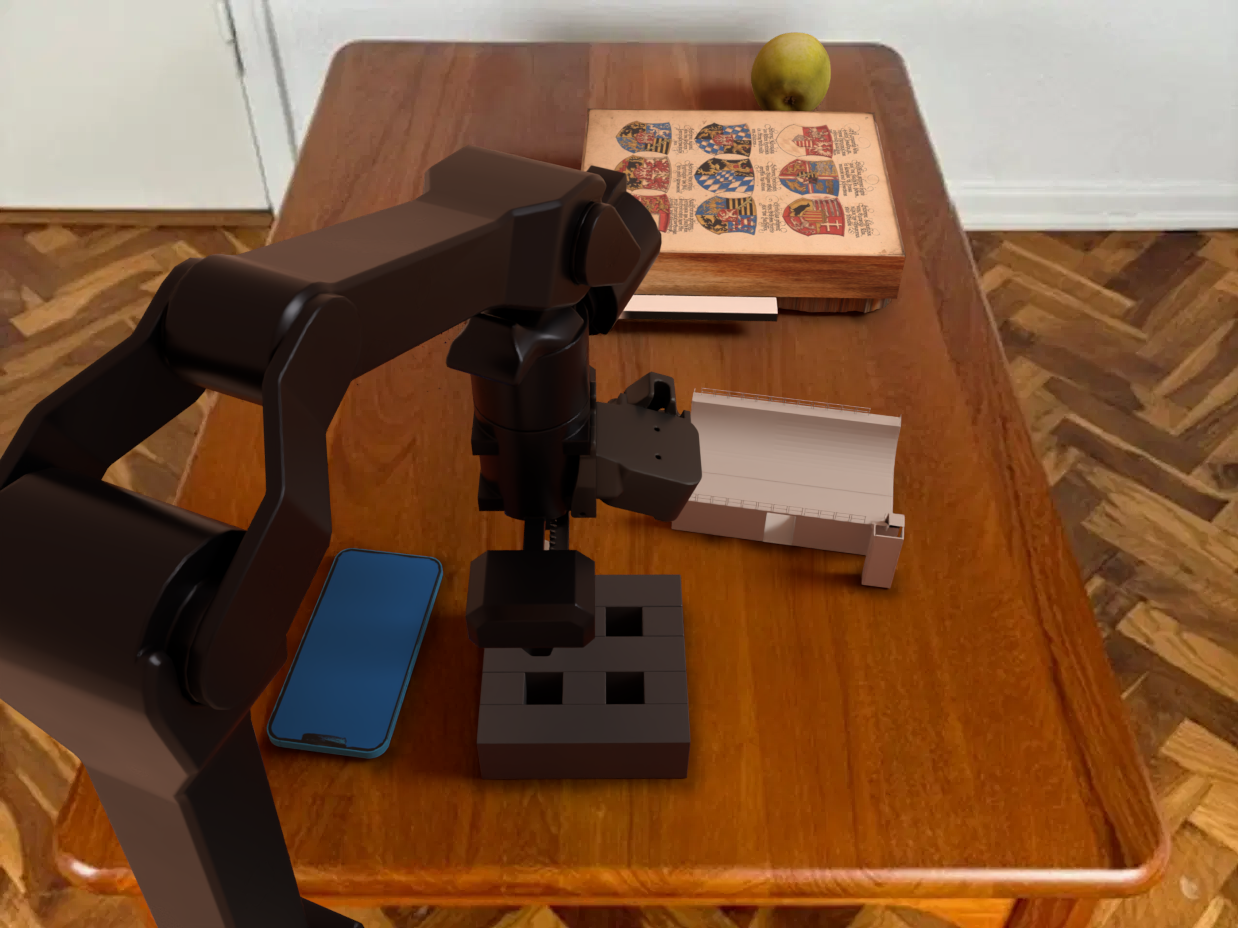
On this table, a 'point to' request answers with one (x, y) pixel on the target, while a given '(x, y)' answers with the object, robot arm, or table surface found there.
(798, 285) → the book
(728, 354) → the table surface
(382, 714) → the smartphone
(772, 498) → the skate ramp
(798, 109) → the apple
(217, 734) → the robot arm
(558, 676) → the pen stand
